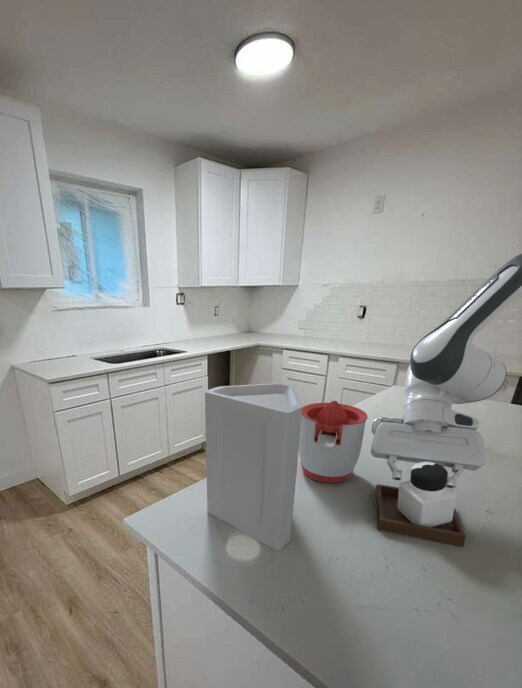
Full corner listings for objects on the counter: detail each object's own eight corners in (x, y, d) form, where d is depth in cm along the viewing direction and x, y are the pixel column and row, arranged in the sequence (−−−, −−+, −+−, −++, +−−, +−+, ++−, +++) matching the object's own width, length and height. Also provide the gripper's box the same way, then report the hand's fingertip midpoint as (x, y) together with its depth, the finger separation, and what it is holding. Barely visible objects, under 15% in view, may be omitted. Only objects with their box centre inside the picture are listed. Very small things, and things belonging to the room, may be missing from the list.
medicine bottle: (452, 522, 72) (461, 473, 67) (419, 531, 72) (425, 483, 66) (427, 500, 79) (433, 454, 73) (396, 509, 78) (400, 463, 73)
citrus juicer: (287, 484, 91) (293, 409, 83) (301, 455, 105) (307, 389, 97) (354, 497, 84) (368, 417, 77) (359, 464, 99) (370, 394, 91)
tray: (446, 505, 81) (449, 495, 80) (463, 547, 68) (466, 536, 67) (374, 493, 86) (376, 484, 85) (377, 530, 73) (380, 519, 72)
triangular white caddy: (316, 517, 78) (331, 392, 67) (278, 551, 69) (288, 413, 58) (246, 485, 91) (249, 376, 80) (205, 511, 81) (202, 391, 70)
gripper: (374, 410, 79) (368, 470, 74) (488, 420, 71) (489, 488, 67) (370, 422, 84) (365, 478, 80) (476, 432, 77) (476, 495, 72)
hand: (422, 483), depth 73 cm, fingers open, 8 cm apart
